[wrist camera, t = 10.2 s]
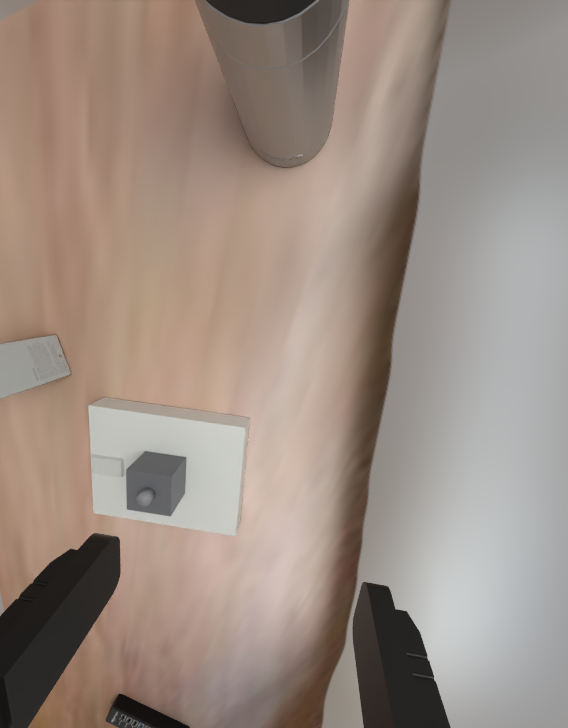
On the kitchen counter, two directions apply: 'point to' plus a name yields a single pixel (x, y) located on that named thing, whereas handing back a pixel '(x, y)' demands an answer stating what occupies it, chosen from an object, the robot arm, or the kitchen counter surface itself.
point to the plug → (155, 483)
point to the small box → (30, 364)
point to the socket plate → (174, 437)
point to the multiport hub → (138, 715)
